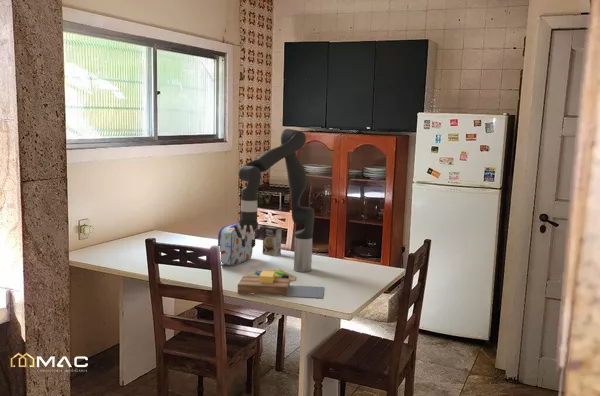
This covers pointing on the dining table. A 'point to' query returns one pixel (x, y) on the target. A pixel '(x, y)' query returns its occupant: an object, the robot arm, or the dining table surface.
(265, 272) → the ochre tile
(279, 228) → the coffee box
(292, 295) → the slate mat
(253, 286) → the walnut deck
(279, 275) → the wooden puzzle
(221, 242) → the lunch box
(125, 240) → the dining table surface
